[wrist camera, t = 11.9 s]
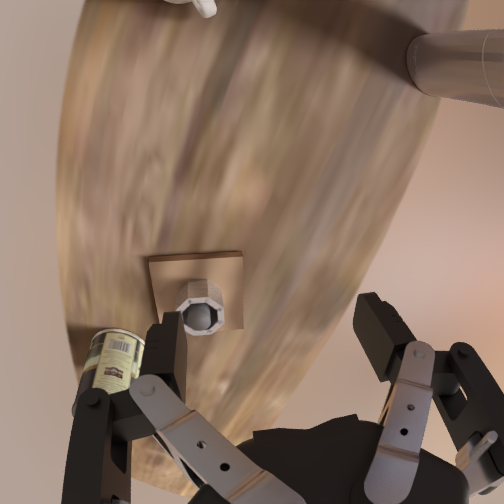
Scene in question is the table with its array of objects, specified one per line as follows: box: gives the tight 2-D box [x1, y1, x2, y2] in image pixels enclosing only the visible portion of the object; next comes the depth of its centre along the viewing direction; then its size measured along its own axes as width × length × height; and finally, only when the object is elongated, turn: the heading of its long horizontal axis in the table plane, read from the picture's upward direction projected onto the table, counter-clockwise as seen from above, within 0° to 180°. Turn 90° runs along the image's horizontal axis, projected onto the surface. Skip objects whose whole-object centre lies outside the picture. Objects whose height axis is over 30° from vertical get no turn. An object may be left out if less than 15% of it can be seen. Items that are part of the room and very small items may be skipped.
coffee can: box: [72, 328, 145, 417], centre depth 41 cm, size 10×10×14 cm
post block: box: [148, 251, 243, 333], centre depth 41 cm, size 12×12×6 cm
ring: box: [175, 279, 225, 335], centre depth 41 cm, size 6×6×4 cm
